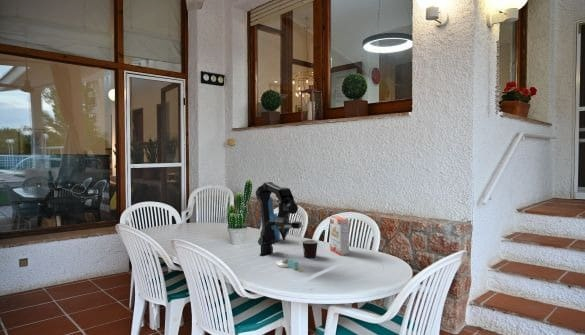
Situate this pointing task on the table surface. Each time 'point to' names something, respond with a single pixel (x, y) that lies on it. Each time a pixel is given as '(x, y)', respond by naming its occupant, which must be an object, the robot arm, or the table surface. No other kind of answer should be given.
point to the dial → (287, 264)
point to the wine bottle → (272, 217)
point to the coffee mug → (310, 248)
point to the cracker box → (339, 235)
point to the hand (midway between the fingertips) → (283, 240)
